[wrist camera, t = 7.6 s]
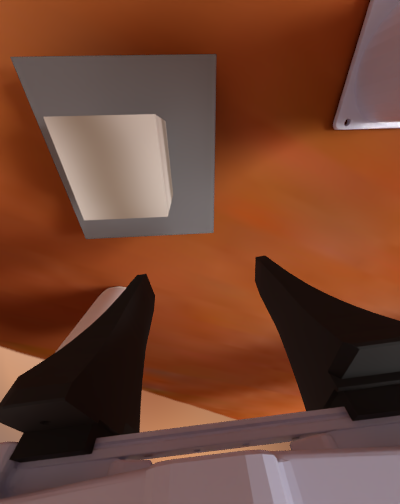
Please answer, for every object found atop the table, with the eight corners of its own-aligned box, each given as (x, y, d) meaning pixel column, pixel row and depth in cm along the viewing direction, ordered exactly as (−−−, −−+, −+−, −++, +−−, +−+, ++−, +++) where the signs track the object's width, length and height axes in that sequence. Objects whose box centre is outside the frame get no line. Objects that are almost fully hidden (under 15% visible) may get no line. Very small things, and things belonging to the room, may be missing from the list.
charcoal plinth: (210, 69, 13) (216, 54, 11) (210, 220, 20) (213, 232, 17) (44, 72, 13) (10, 56, 11) (99, 225, 20) (86, 238, 17)
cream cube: (165, 121, 13) (154, 114, 8) (173, 194, 15) (167, 216, 11) (91, 123, 12) (42, 116, 8) (112, 196, 15) (84, 220, 11)
